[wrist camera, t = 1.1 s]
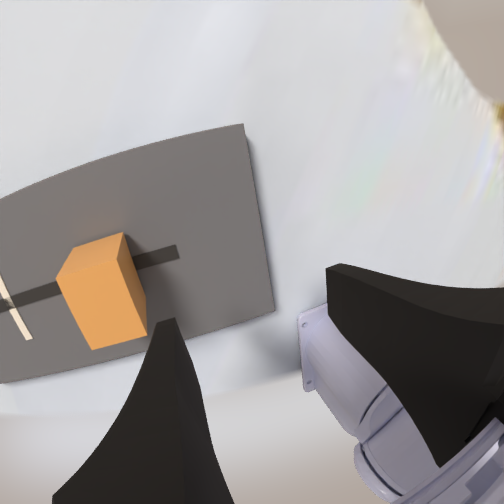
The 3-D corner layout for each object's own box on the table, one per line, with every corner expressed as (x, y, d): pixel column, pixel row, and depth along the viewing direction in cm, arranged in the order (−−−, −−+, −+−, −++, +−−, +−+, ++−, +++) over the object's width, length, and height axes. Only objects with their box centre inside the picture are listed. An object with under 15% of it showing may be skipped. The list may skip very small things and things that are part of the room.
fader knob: (145, 296, 17) (147, 335, 13) (99, 309, 16) (91, 350, 13) (123, 231, 15) (116, 259, 12) (73, 247, 14) (55, 278, 11)
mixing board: (266, 299, 22) (275, 311, 20) (-9, 374, 16) (-14, 386, 15) (235, 124, 17) (243, 123, 15) (-77, 242, 11) (-88, 249, 10)
